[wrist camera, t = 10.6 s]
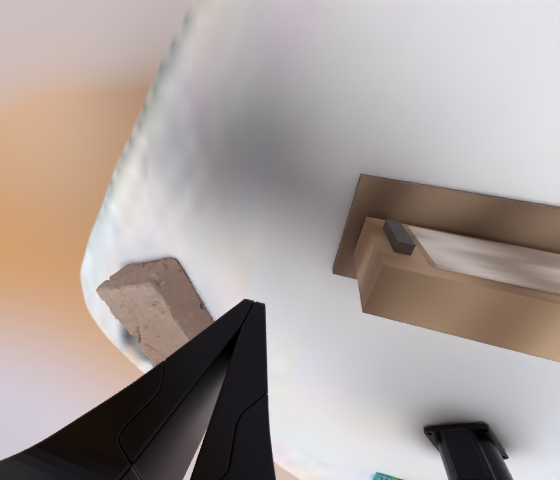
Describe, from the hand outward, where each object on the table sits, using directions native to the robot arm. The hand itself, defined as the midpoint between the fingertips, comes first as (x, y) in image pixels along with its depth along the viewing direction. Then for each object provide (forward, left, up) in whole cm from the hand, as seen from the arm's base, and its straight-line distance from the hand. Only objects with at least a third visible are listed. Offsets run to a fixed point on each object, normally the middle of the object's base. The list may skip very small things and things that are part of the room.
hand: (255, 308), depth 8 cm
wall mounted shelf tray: (-8, -8, -9) cm, 14 cm away
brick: (-3, +20, -11) cm, 22 cm away
